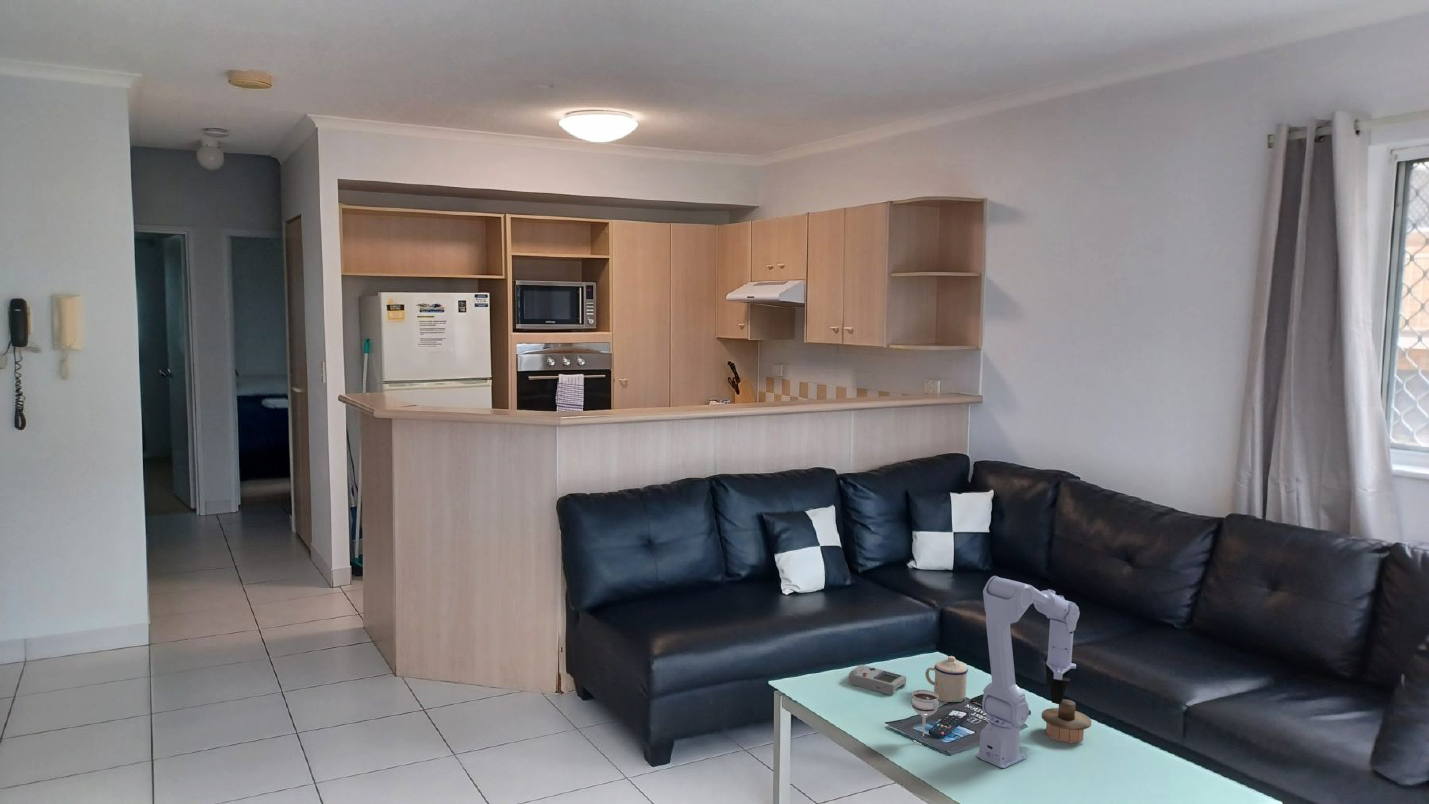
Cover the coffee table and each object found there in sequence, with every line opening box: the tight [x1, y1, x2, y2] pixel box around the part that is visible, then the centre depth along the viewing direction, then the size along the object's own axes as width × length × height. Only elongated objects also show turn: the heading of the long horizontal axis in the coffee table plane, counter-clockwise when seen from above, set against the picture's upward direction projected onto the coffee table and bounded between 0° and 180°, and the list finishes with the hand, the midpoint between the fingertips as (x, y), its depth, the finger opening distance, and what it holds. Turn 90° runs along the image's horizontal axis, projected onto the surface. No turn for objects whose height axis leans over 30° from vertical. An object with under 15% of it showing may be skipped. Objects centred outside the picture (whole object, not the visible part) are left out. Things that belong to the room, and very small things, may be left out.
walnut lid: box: [1041, 698, 1092, 730], centre depth 245 cm, size 12×12×5 cm
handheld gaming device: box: [847, 664, 907, 696], centre depth 276 cm, size 9×15×4 cm, turn 54°
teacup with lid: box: [925, 655, 969, 703], centre depth 269 cm, size 12×9×12 cm
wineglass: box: [910, 689, 940, 747], centre depth 240 cm, size 7×7×12 cm
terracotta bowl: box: [1045, 722, 1085, 744], centre depth 246 cm, size 9×9×4 cm
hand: (1057, 697), depth 245 cm, fingers open, 7 cm apart
